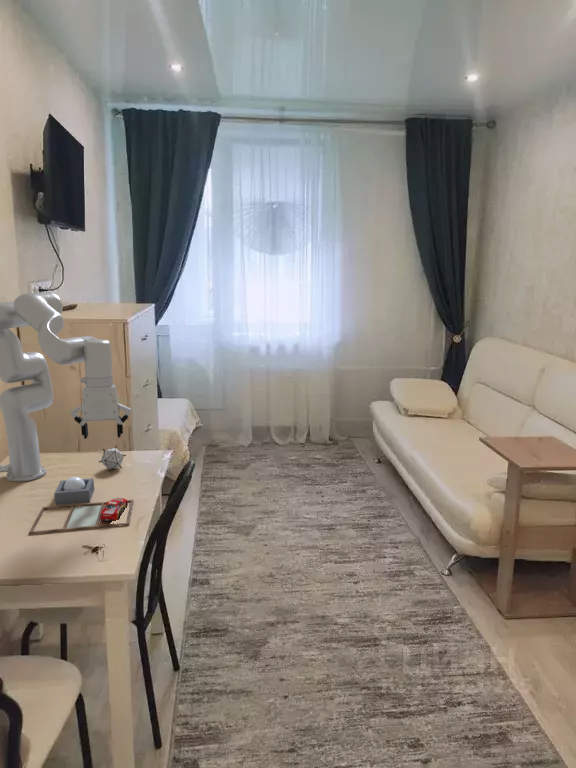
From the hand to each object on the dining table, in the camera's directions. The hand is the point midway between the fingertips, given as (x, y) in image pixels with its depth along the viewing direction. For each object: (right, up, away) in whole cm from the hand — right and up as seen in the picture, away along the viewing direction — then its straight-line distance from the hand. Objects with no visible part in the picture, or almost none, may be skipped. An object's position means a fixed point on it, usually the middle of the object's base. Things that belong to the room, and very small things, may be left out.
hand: (102, 436), depth 165 cm
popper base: (-11, -20, +8) cm, 24 cm away
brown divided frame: (-3, -23, -6) cm, 24 cm away
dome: (-11, -20, +8) cm, 24 cm away
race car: (+5, -23, -4) cm, 23 cm away
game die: (-7, -15, +32) cm, 36 cm away
